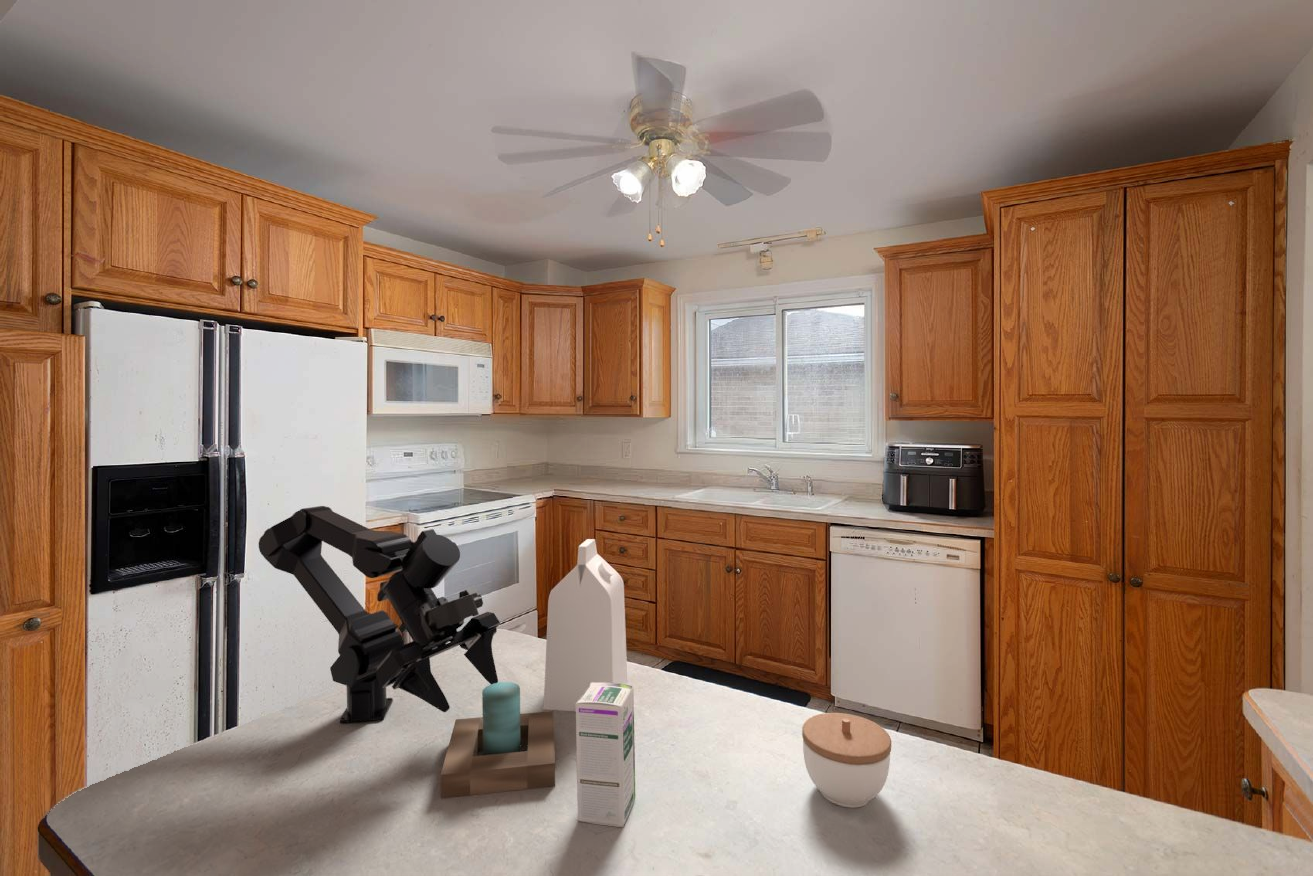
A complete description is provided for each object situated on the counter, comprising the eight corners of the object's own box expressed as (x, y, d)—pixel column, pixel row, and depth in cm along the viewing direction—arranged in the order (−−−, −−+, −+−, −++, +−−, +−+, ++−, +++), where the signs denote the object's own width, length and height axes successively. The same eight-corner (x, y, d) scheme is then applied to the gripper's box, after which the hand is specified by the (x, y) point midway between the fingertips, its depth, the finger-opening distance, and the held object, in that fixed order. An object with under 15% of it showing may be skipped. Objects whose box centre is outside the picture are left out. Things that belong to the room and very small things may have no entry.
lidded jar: (889, 777, 82) (890, 707, 82) (891, 829, 72) (893, 749, 71) (805, 762, 86) (806, 695, 85) (796, 809, 75) (797, 733, 75)
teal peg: (476, 761, 85) (475, 690, 85) (507, 747, 89) (506, 678, 89) (496, 776, 82) (495, 702, 82) (528, 760, 86) (527, 689, 85)
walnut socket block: (456, 739, 91) (455, 719, 91) (552, 730, 94) (552, 711, 94) (441, 798, 77) (440, 774, 77) (555, 785, 80) (554, 763, 80)
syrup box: (624, 829, 72) (624, 705, 71) (575, 822, 73) (574, 701, 72) (635, 798, 77) (635, 684, 77) (590, 792, 79) (589, 680, 78)
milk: (564, 677, 112) (563, 534, 111) (627, 681, 111) (627, 536, 110) (543, 709, 100) (542, 549, 99) (613, 714, 99) (613, 552, 98)
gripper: (389, 590, 81) (450, 692, 77) (491, 560, 98) (546, 643, 93) (351, 638, 85) (407, 738, 81) (455, 601, 102) (506, 682, 97)
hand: (472, 696), depth 88 cm, fingers open, 9 cm apart
